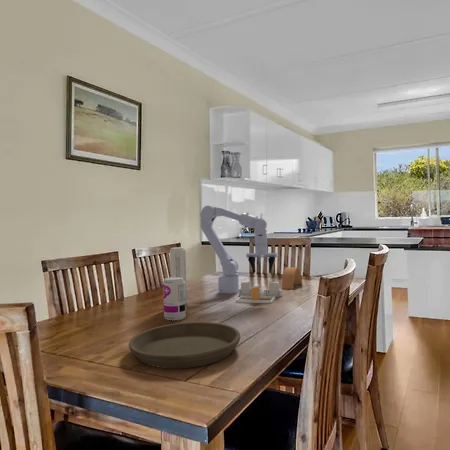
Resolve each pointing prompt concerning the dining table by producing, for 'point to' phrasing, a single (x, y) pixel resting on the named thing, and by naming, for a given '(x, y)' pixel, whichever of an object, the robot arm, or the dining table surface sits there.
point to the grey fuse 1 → (245, 287)
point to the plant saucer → (185, 344)
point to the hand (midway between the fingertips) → (262, 272)
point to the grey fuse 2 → (273, 287)
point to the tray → (256, 300)
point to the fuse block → (261, 293)
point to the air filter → (178, 265)
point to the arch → (291, 277)
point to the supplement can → (174, 298)
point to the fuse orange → (255, 293)
